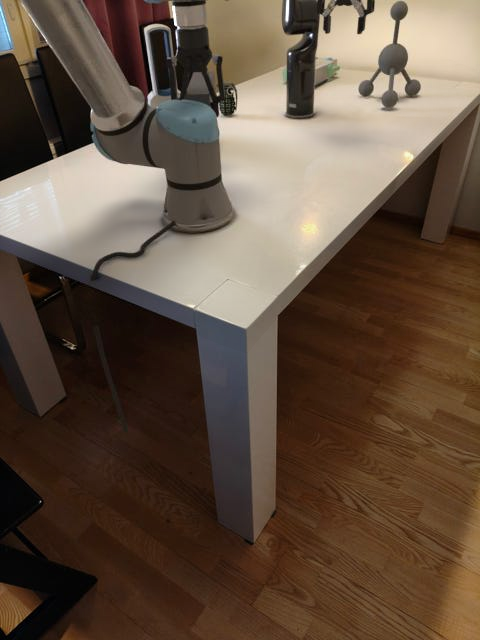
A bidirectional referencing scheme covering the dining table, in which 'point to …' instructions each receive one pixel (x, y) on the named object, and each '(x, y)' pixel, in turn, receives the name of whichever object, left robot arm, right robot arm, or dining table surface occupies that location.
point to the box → (199, 88)
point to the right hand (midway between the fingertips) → (343, 33)
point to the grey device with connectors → (321, 69)
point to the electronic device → (156, 94)
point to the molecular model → (392, 63)
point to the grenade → (228, 100)
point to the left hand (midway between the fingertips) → (201, 130)
